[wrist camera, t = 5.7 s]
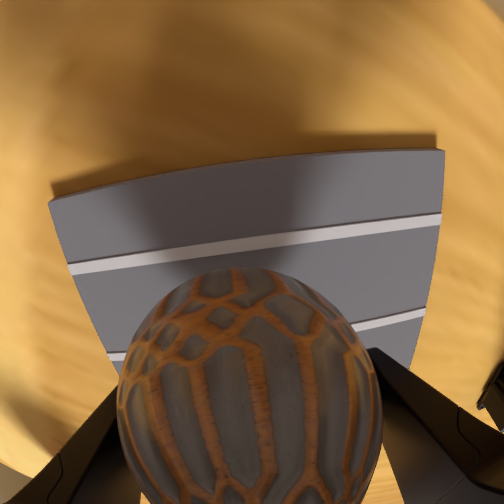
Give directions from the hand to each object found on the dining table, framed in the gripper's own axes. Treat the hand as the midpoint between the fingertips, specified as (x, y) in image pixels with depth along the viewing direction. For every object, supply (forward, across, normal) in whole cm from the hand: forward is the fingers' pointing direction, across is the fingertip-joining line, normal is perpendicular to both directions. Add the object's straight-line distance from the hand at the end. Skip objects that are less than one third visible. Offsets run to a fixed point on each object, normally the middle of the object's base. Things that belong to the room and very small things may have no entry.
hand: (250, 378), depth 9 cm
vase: (+3, 0, 0) cm, 3 cm away
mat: (+5, -1, +3) cm, 6 cm away
